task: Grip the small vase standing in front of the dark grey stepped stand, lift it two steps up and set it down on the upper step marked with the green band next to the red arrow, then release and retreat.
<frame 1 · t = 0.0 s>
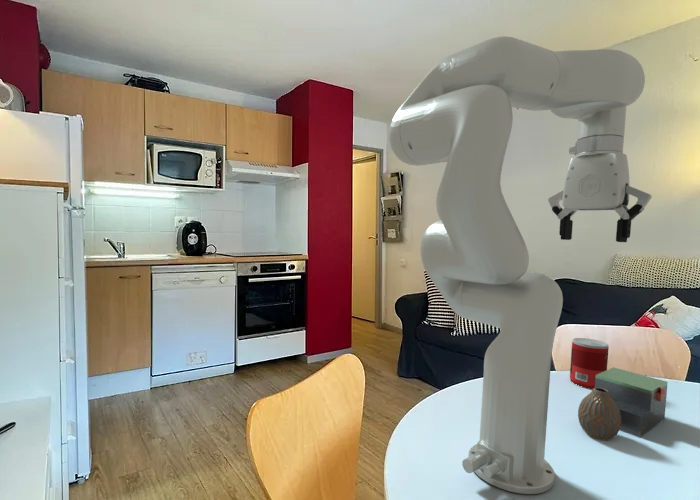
hand: (592, 240, 75), 37 cm above the table, tool pointing down, fingers open, 9 cm apart
vase: (597, 435, 75), on the table
canned food: (587, 384, 102), on the table
stand: (627, 415, 84), on the table
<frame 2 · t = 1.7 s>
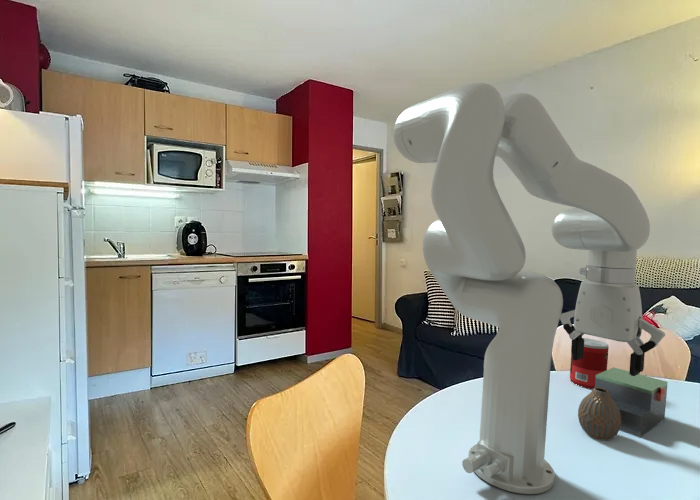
hand: (604, 366, 75), 13 cm above the table, tool pointing down, fingers open, 9 cm apart
nothing on the table moved.
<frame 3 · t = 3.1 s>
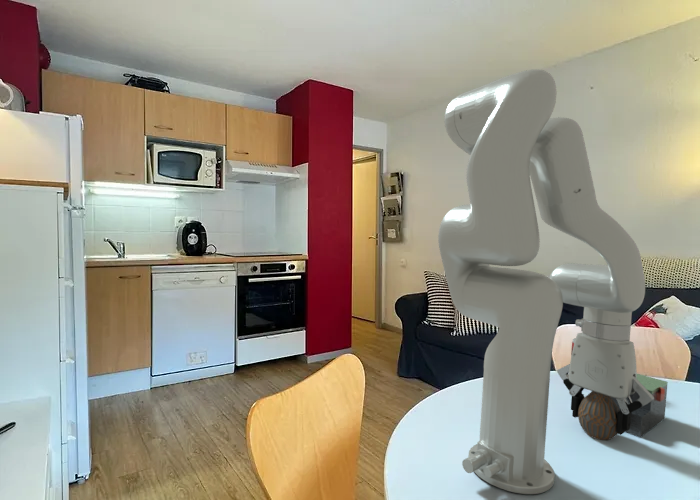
hand: (598, 422, 75), 2 cm above the table, tool pointing down, fingers closed on vase, 6 cm apart
vase: (597, 435, 75), on the table, touching gripper
everything else where it was.
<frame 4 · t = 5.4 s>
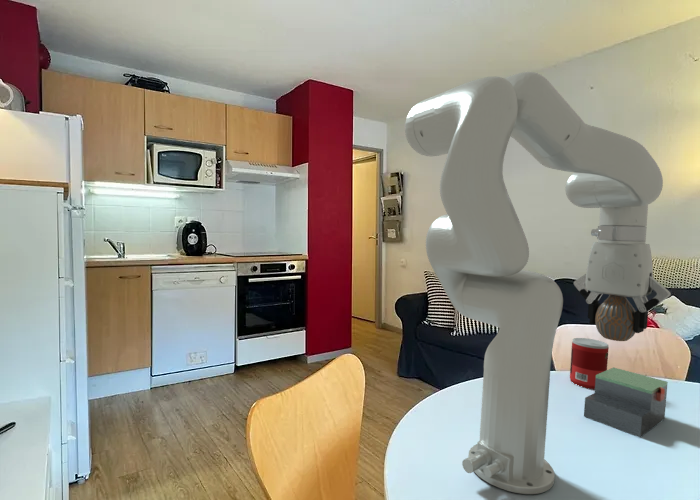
hand: (615, 326, 77), 20 cm above the table, tool pointing down, fingers closed on vase, 6 cm apart
vase: (614, 339, 77), point 18 cm above the table, touching gripper
everything else where it was.
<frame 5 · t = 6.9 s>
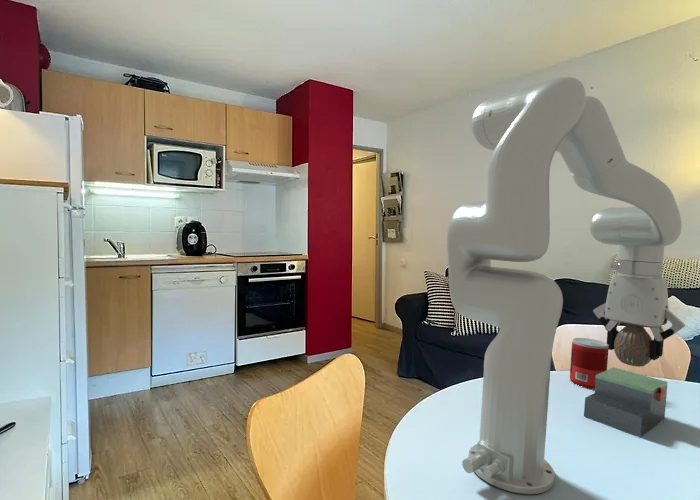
hand: (633, 353, 84), 13 cm above the table, tool pointing down, fingers closed on vase, 6 cm apart
vase: (632, 364, 84), point 11 cm above the table, touching gripper
everything else where it was.
when the fingers open (11 cm above the table, at t = 7.8 s): vase stays where it is, resting on stand.
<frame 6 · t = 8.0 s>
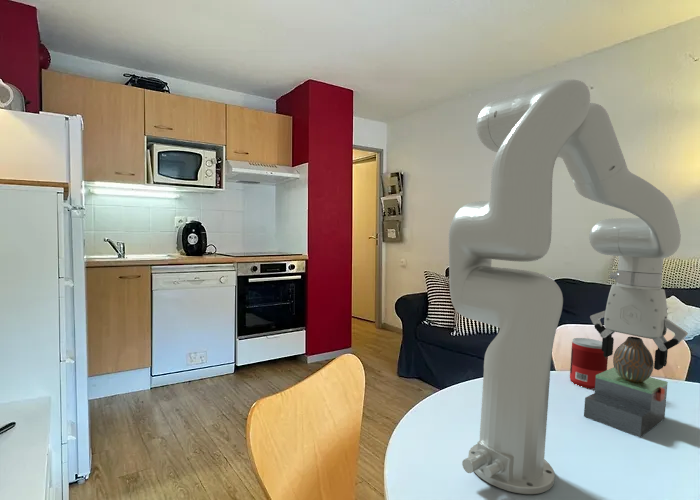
hand: (632, 361, 84), 12 cm above the table, tool pointing down, fingers open, 8 cm apart
vase: (631, 379, 84), point 8 cm above the table, touching stand
everything else where it was.
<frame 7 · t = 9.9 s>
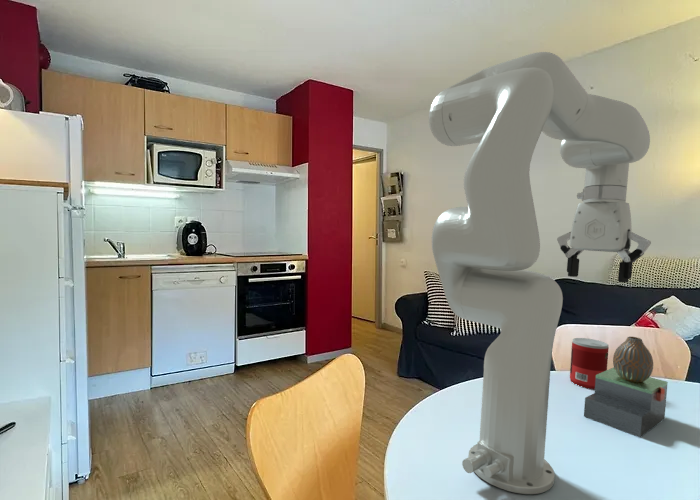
hand: (596, 279, 82), 29 cm above the table, tool pointing down, fingers open, 9 cm apart
nothing on the table moved.
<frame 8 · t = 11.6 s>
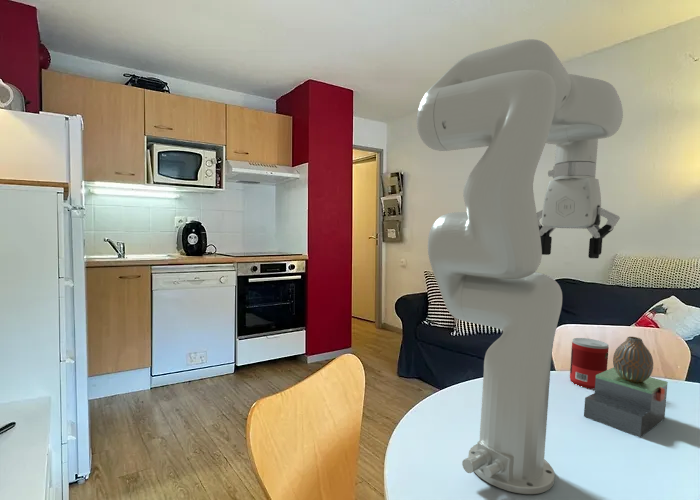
hand: (568, 256, 83), 33 cm above the table, tool pointing down, fingers open, 9 cm apart
nothing on the table moved.
at the end: vase inside the target area on the stand (0.5 cm from its centre), point 7.8 cm above the stand's base; vase tilted 0°; the gripper is holding nothing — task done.
